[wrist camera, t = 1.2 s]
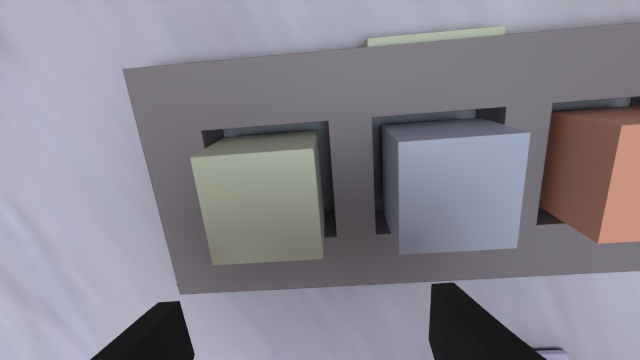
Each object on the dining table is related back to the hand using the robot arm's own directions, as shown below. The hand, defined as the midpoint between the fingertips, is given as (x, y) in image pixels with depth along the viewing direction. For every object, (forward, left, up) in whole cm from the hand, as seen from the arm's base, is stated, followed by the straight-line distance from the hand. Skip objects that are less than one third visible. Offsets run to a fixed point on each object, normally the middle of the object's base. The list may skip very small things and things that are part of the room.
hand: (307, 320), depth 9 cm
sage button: (+2, +2, -9) cm, 9 cm away
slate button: (+2, -6, -9) cm, 11 cm away
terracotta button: (+2, -14, -9) cm, 16 cm away
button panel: (+2, -6, -10) cm, 12 cm away
